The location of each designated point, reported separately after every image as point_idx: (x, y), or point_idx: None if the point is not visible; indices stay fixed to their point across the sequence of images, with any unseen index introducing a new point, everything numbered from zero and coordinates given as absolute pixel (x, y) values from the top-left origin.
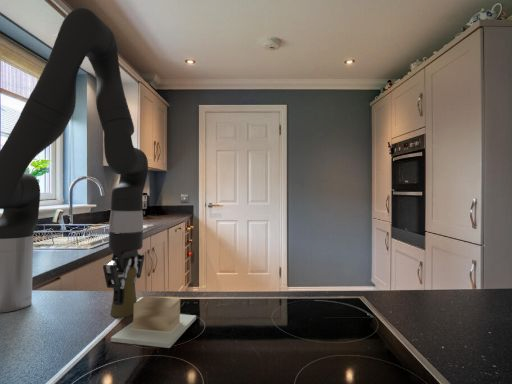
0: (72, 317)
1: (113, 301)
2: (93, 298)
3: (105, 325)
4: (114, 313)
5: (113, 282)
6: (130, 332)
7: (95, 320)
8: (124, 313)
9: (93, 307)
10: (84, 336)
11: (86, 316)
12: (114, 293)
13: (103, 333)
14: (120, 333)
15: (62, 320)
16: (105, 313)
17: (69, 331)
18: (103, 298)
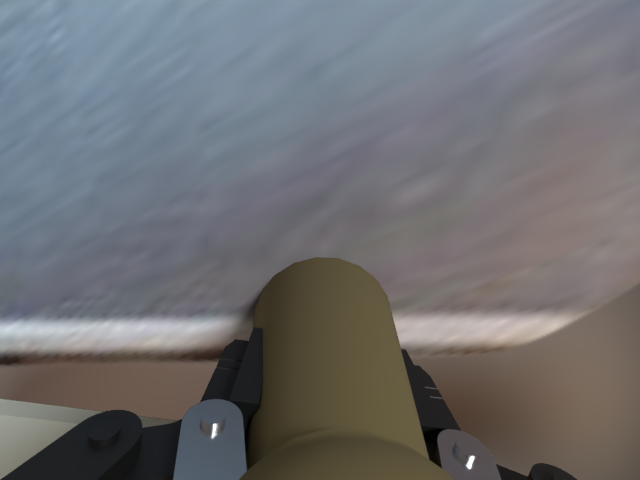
0: (225, 64)
1: (269, 321)
2: (588, 14)
3: (146, 304)
4: (258, 306)
5: (174, 468)
6: None
7: (199, 225)
8: None
9: (400, 110)
10: (7, 268)
11: (249, 145)
12: (208, 391)
13: (59, 335)
14: (21, 431)
15: (171, 25)
16: (303, 232)
17: (39, 162)
18: (578, 92)
